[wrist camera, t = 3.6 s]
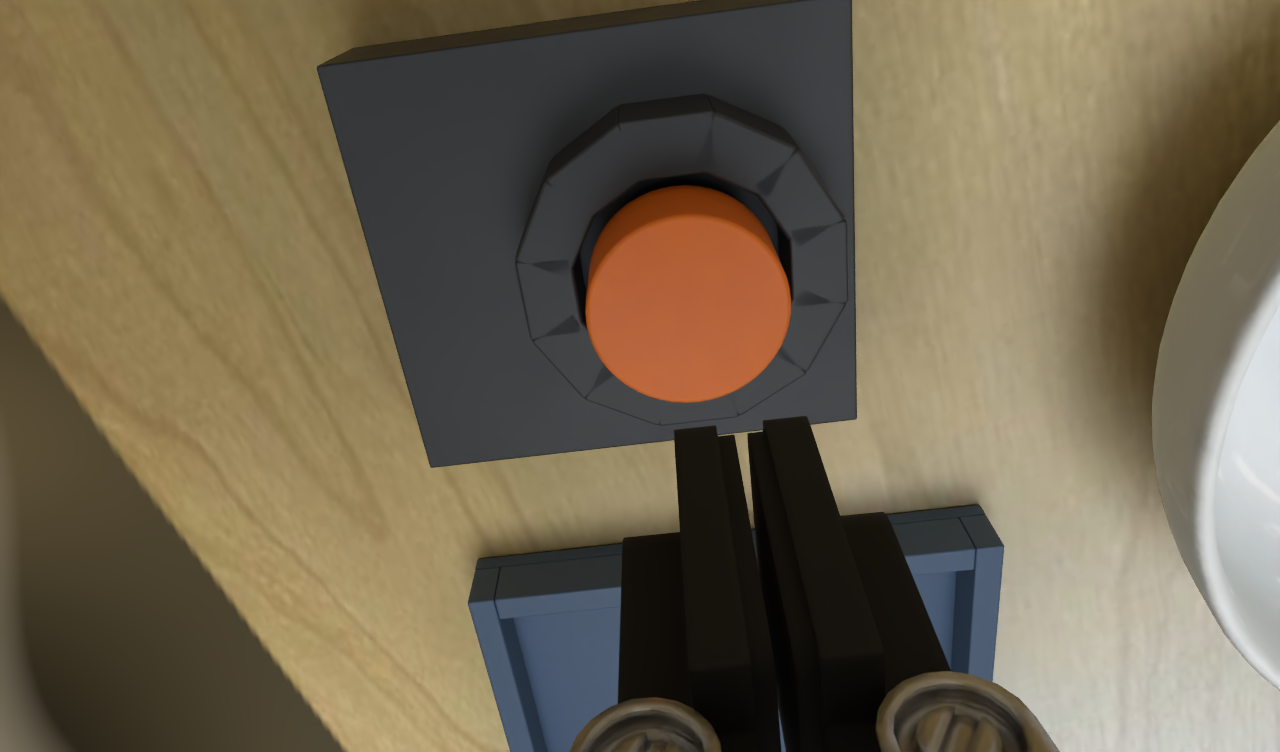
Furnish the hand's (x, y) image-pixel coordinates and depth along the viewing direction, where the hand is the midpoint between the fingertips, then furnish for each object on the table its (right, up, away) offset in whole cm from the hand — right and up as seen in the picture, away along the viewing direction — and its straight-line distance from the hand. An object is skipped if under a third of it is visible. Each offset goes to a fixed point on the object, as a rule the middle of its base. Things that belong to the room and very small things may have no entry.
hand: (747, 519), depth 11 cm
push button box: (-2, +6, +11) cm, 13 cm away
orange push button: (0, +4, +8) cm, 9 cm away
